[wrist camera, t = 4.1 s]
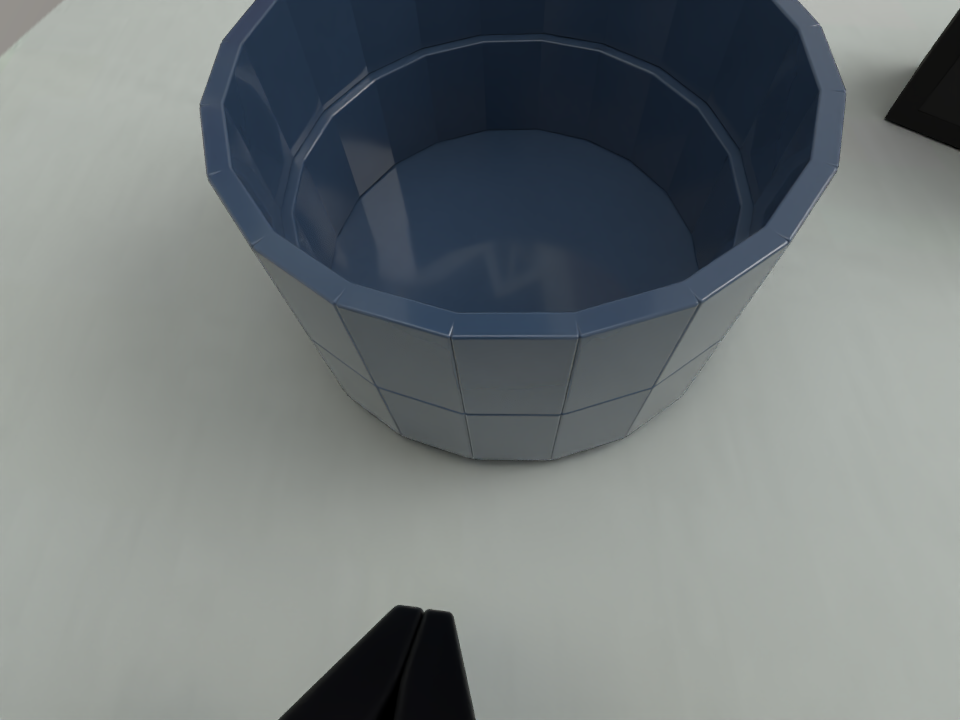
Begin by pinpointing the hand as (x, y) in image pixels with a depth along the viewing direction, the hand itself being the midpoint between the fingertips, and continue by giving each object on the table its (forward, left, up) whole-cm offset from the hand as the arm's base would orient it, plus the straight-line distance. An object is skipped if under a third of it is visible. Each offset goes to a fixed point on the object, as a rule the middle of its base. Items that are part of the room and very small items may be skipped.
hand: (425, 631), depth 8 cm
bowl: (+9, -8, -9) cm, 15 cm away
